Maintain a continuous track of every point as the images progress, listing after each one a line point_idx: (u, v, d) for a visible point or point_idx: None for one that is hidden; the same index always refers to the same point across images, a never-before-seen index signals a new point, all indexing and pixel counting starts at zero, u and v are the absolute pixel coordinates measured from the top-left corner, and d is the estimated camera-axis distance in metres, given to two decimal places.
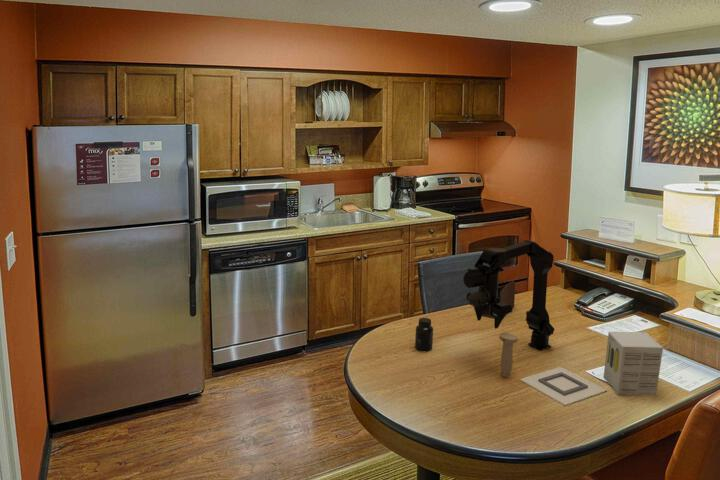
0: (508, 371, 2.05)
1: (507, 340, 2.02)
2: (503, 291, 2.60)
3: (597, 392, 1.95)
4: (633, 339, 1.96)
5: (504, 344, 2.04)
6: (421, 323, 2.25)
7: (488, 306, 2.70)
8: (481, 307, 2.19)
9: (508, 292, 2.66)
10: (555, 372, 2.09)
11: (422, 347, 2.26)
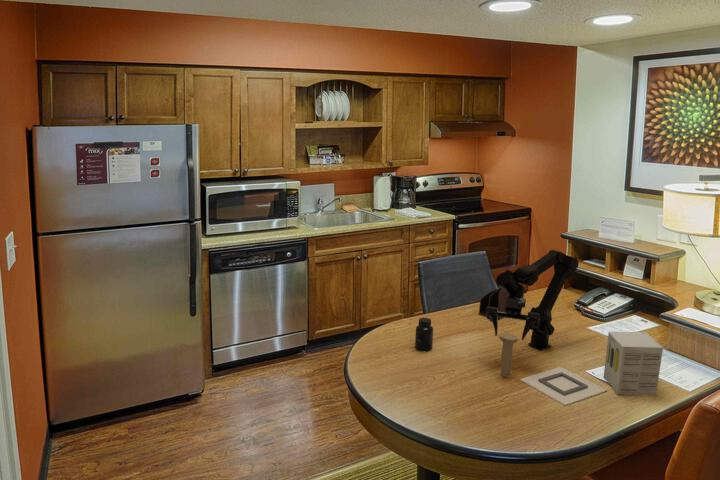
0: (508, 371, 2.05)
1: (507, 340, 2.02)
2: (502, 291, 2.60)
3: (597, 392, 1.95)
4: (633, 339, 1.96)
5: (504, 344, 2.04)
6: (421, 323, 2.25)
7: None
8: (497, 324, 2.13)
9: None
10: (555, 372, 2.09)
11: (422, 347, 2.26)
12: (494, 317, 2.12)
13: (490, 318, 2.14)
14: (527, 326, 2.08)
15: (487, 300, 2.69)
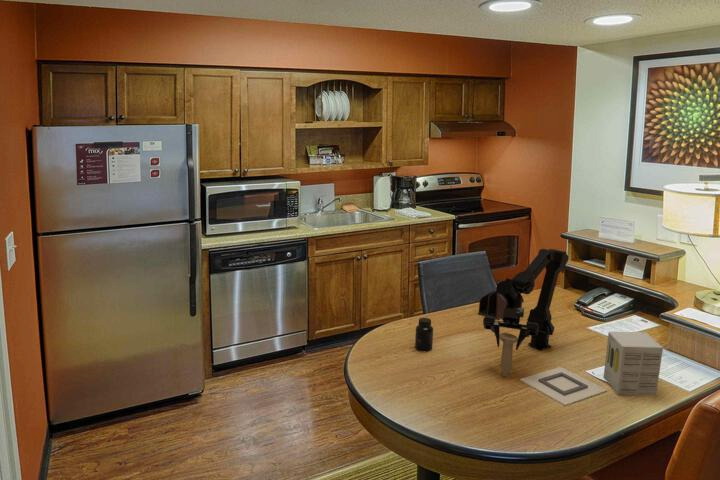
0: (508, 371, 2.05)
1: (507, 340, 2.02)
2: None
3: (597, 392, 1.95)
4: (633, 339, 1.96)
5: (504, 344, 2.04)
6: (421, 323, 2.25)
7: None
8: None
9: None
10: (555, 372, 2.09)
11: (422, 347, 2.26)
12: (496, 328, 2.06)
13: (492, 328, 2.09)
14: (521, 336, 2.03)
15: None
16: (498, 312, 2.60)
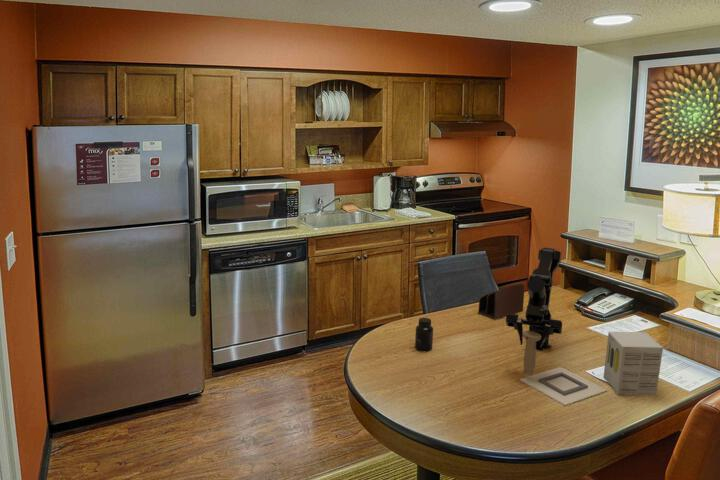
0: (531, 369, 2.02)
1: (530, 338, 1.99)
2: (500, 292, 2.59)
3: (597, 392, 1.95)
4: (633, 339, 1.96)
5: (527, 342, 2.01)
6: (421, 323, 2.25)
7: None
8: (522, 332, 2.05)
9: (510, 294, 2.64)
10: (555, 372, 2.09)
11: (422, 347, 2.26)
12: (519, 325, 2.03)
13: (515, 326, 2.06)
14: (545, 333, 2.00)
15: None
16: (496, 312, 2.60)
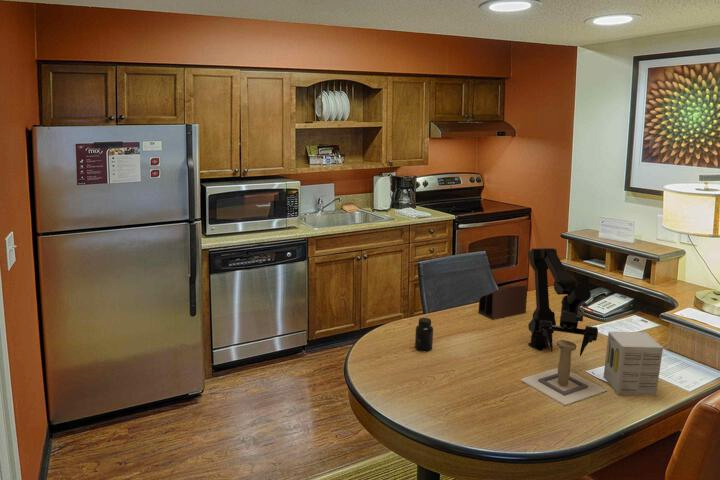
0: (566, 379, 1.98)
1: (565, 348, 1.95)
2: (499, 292, 2.59)
3: (597, 392, 1.95)
4: (633, 339, 1.96)
5: (562, 352, 1.97)
6: (421, 323, 2.25)
7: None
8: None
9: (511, 295, 2.62)
10: (555, 372, 2.09)
11: (422, 347, 2.26)
12: (549, 331, 1.99)
13: (544, 332, 2.02)
14: (585, 341, 1.95)
15: None
16: (494, 312, 2.60)
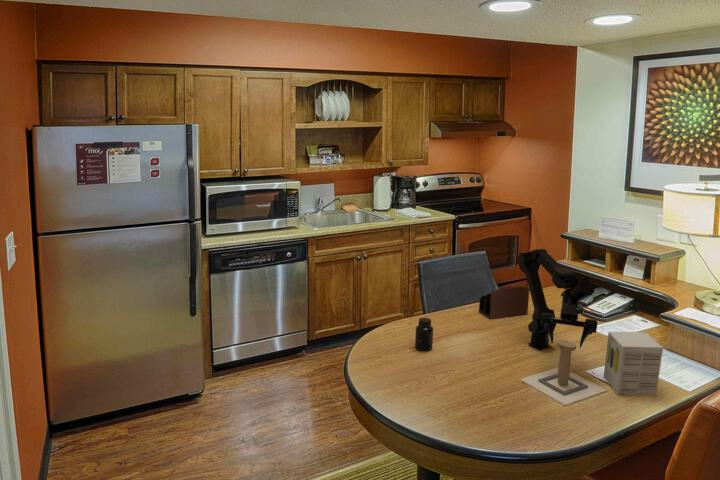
0: (566, 379, 1.98)
1: (565, 348, 1.95)
2: (497, 292, 2.59)
3: (597, 392, 1.95)
4: (633, 339, 1.96)
5: (562, 351, 1.97)
6: (421, 323, 2.25)
7: None
8: None
9: (511, 296, 2.62)
10: (555, 372, 2.09)
11: (422, 347, 2.26)
12: (550, 324, 2.06)
13: (545, 325, 2.08)
14: (585, 333, 2.02)
15: None
16: (492, 312, 2.60)
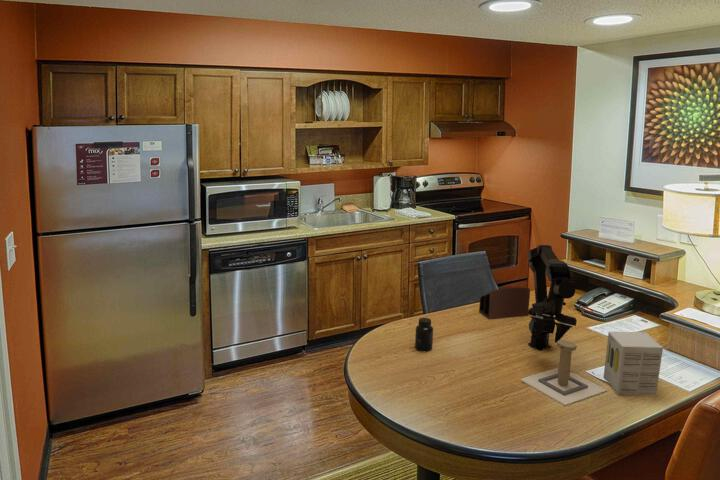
0: (566, 379, 1.98)
1: (565, 348, 1.95)
2: (496, 292, 2.59)
3: (597, 392, 1.95)
4: (633, 339, 1.96)
5: (562, 351, 1.97)
6: (421, 323, 2.25)
7: None
8: (542, 324, 2.15)
9: (511, 296, 2.61)
10: (555, 372, 2.09)
11: (422, 347, 2.26)
12: (534, 319, 2.14)
13: None
14: (558, 329, 2.04)
15: None
16: (491, 312, 2.60)
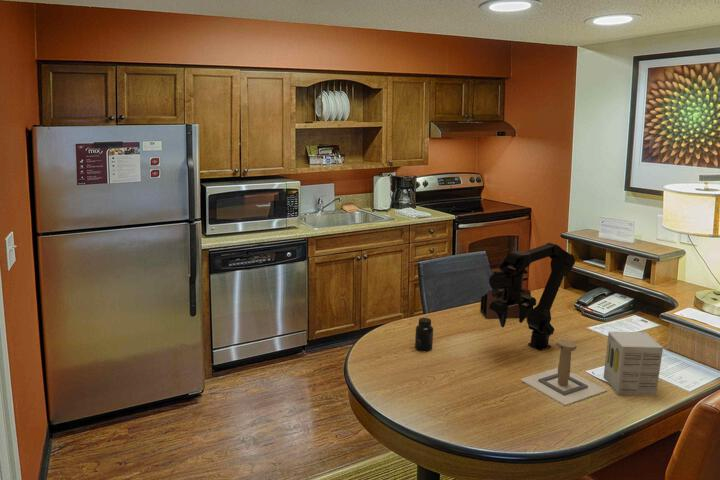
0: (566, 379, 1.98)
1: (565, 348, 1.95)
2: None
3: (597, 392, 1.95)
4: (633, 339, 1.96)
5: (562, 351, 1.97)
6: (421, 323, 2.25)
7: None
8: (523, 311, 2.23)
9: None
10: (555, 372, 2.09)
11: (422, 347, 2.26)
12: None
13: None
14: None
15: None
16: (488, 311, 2.60)
